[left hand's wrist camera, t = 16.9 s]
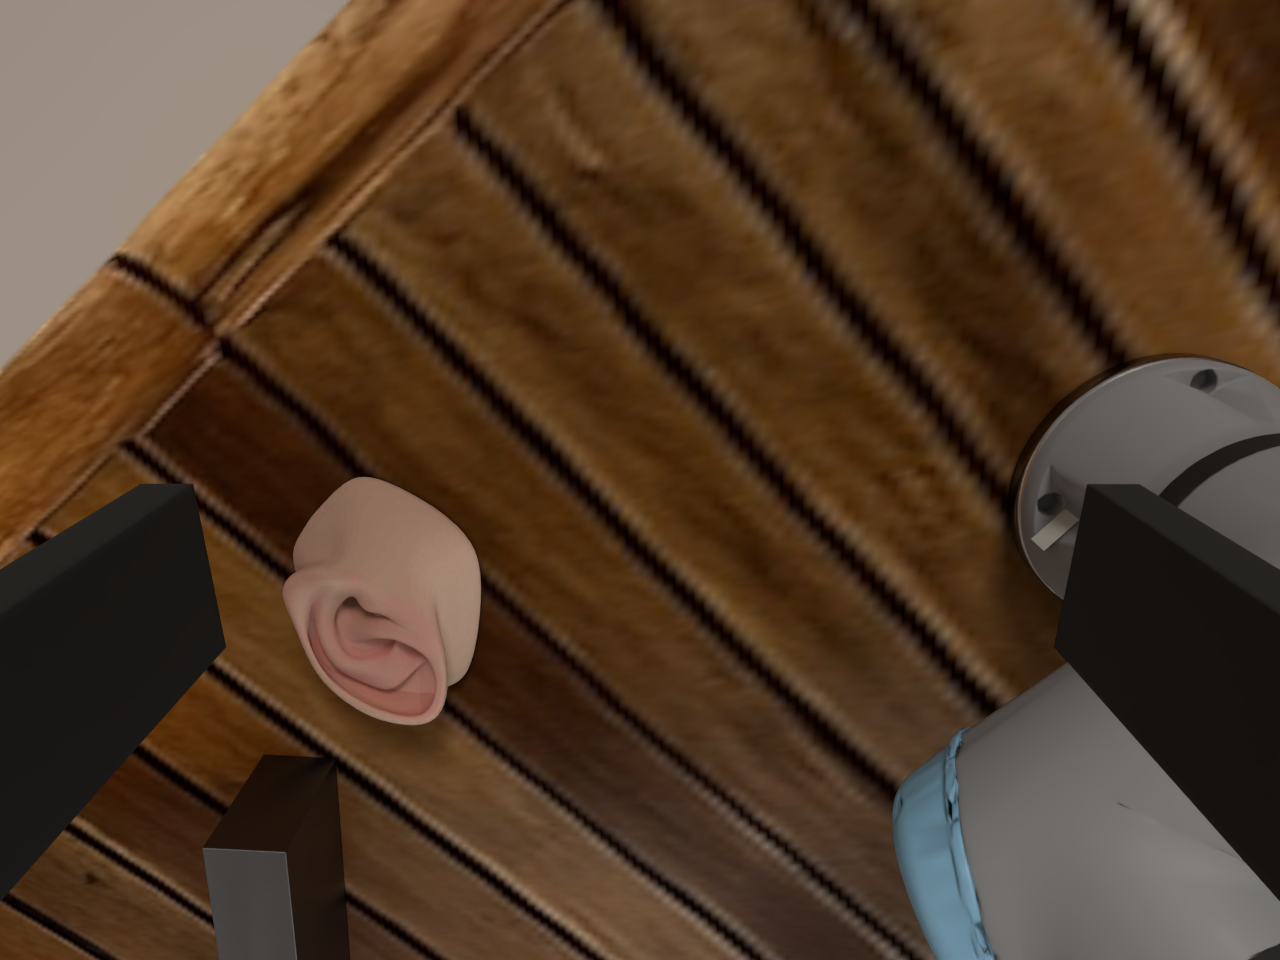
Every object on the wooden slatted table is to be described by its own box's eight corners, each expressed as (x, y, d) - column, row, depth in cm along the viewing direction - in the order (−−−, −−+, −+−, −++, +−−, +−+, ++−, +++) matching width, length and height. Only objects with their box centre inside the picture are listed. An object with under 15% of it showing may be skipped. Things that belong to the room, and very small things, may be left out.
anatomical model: (283, 483, 41) (502, 547, 43) (312, 458, 45) (513, 517, 46) (244, 694, 46) (444, 746, 47) (274, 655, 49) (458, 704, 51)
